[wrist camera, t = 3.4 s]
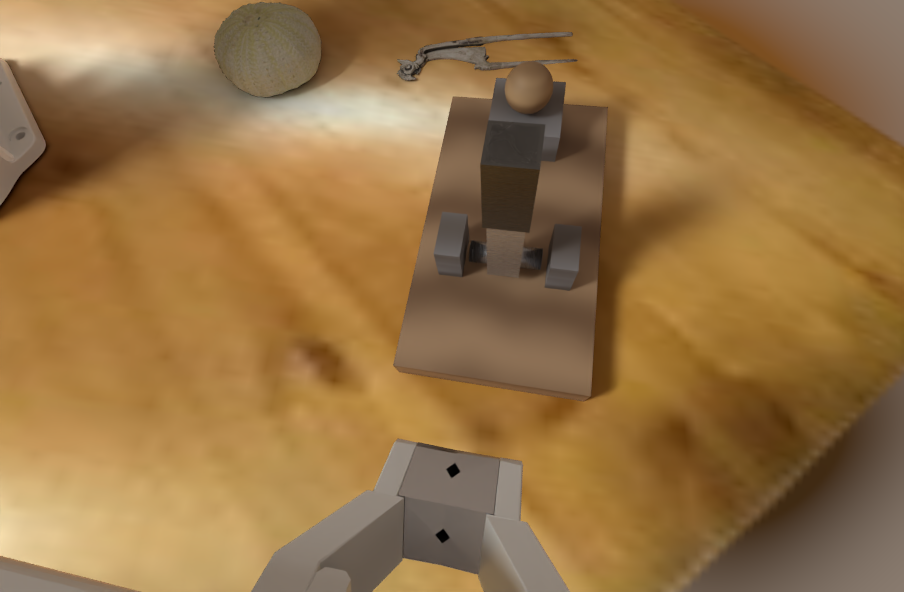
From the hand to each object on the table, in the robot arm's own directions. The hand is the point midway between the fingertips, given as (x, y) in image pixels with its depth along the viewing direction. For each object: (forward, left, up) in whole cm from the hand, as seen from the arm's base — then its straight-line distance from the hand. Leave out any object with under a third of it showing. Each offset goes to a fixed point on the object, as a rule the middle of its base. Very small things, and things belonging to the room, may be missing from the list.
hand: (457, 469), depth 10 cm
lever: (-11, +8, -14) cm, 19 cm away
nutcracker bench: (-13, +10, -17) cm, 24 cm away
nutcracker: (-30, +16, -18) cm, 39 cm away
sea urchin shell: (-39, 0, -18) cm, 43 cm away
